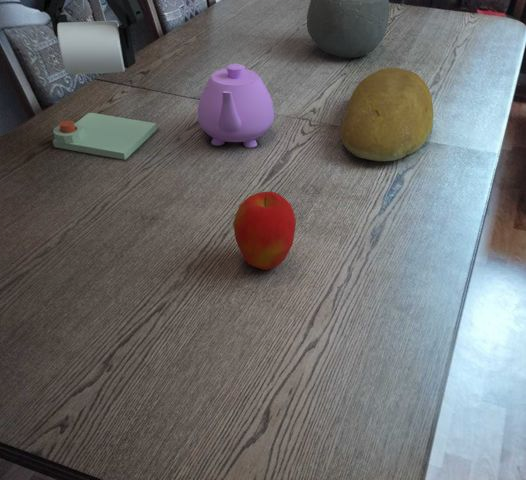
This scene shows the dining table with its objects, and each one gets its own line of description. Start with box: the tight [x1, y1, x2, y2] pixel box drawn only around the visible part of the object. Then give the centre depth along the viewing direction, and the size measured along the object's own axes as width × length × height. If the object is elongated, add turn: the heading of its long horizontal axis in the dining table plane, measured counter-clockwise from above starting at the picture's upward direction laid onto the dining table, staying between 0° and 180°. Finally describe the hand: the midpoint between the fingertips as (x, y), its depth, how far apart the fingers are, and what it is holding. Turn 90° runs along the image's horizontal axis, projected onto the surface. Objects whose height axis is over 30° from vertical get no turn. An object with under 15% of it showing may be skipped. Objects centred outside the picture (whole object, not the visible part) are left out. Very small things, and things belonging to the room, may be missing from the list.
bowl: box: [306, 0, 390, 59], centre depth 144 cm, size 21×21×15 cm
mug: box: [57, 20, 126, 76], centre depth 98 cm, size 12×10×8 cm
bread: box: [340, 67, 434, 162], centre depth 113 cm, size 18×35×10 cm, turn 167°
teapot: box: [197, 63, 275, 148], centre depth 109 cm, size 22×16×14 cm
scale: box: [52, 112, 158, 161], centre depth 112 cm, size 16×14×3 cm
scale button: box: [58, 119, 76, 133], centre depth 109 cm, size 3×3×2 cm
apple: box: [232, 191, 297, 271], centre depth 80 cm, size 9×9×12 cm
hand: (99, 61), depth 99 cm, fingers closed on mug, 12 cm apart
